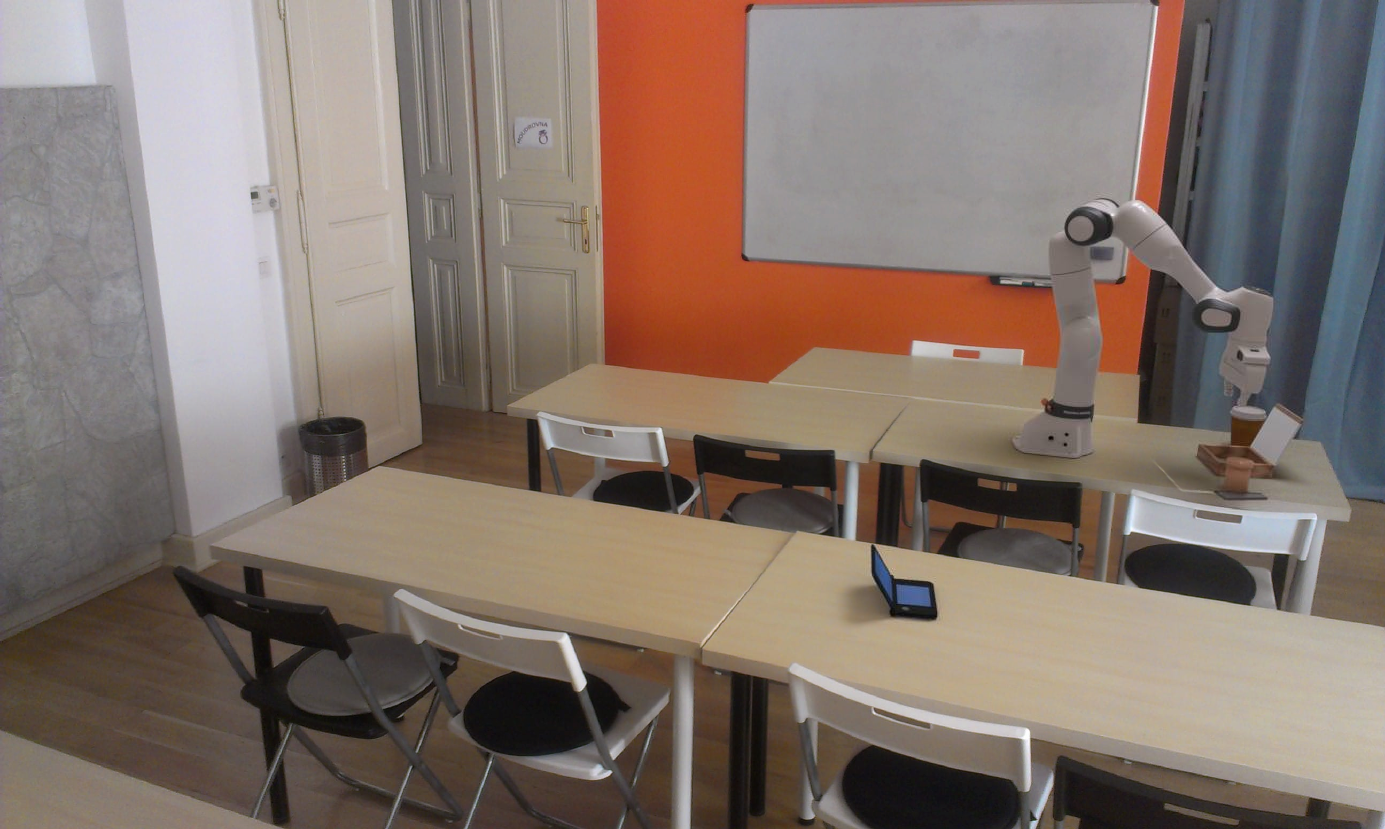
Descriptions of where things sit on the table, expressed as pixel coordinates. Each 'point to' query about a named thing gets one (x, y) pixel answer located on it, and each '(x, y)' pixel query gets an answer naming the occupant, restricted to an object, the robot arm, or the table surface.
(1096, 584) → the table surface
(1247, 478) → the tan cylinder
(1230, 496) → the coaster
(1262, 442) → the lid
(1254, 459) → the tray
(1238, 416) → the disposable coffee cup
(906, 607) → the handheld game console
